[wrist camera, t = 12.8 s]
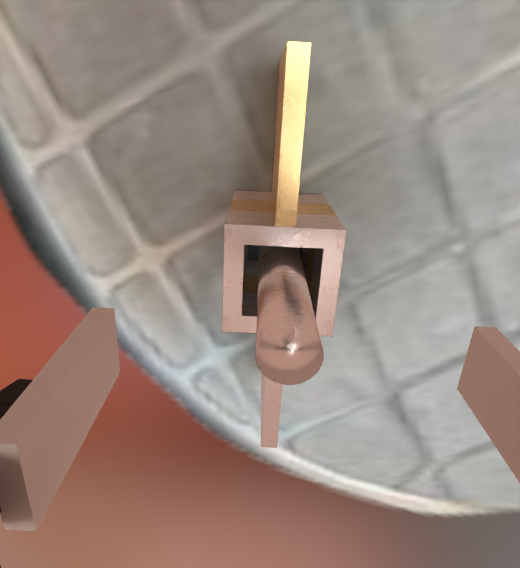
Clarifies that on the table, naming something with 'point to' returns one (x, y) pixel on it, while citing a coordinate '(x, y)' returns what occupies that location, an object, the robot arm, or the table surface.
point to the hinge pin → (285, 319)
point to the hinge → (282, 230)
